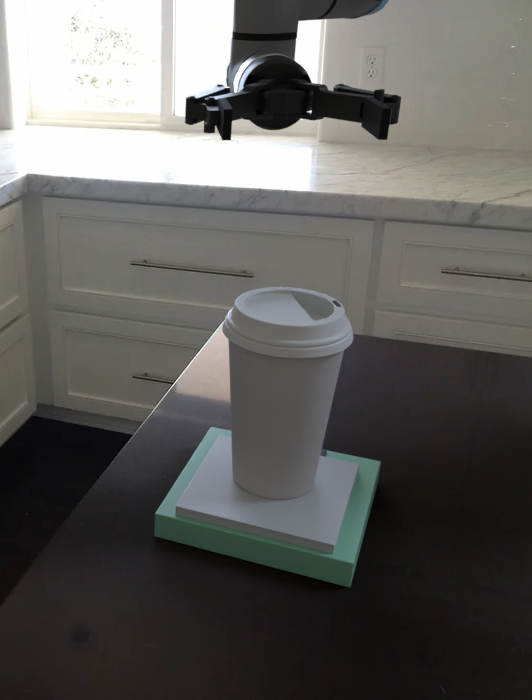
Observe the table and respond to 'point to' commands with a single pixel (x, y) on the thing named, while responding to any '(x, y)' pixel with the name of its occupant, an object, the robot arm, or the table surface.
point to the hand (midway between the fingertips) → (305, 124)
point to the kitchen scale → (272, 513)
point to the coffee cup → (282, 385)
